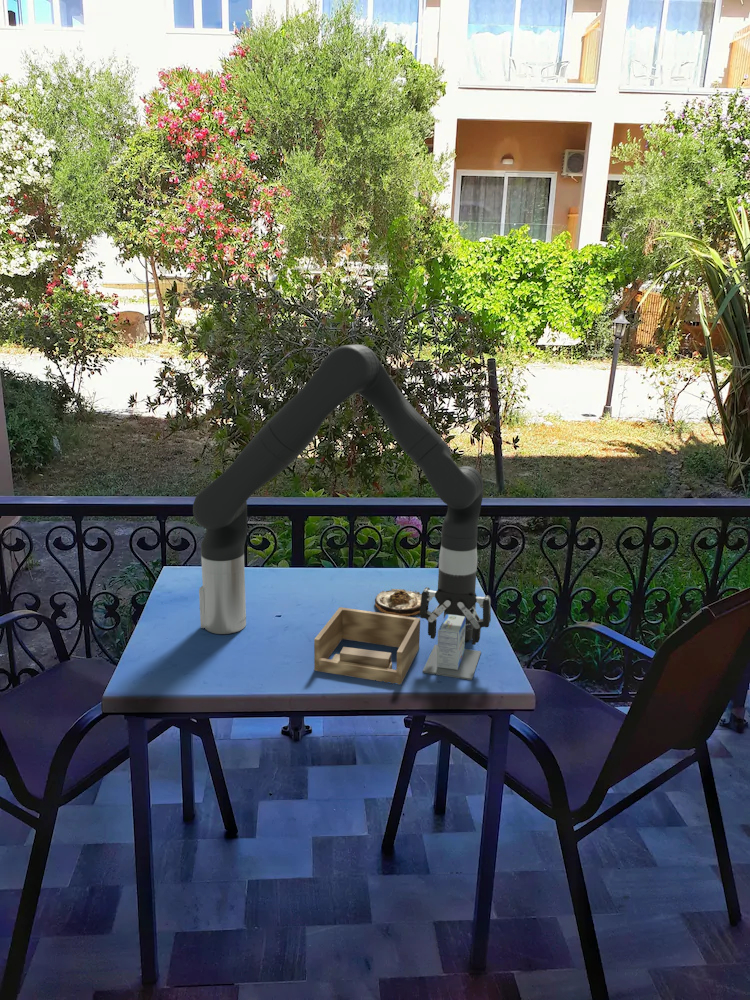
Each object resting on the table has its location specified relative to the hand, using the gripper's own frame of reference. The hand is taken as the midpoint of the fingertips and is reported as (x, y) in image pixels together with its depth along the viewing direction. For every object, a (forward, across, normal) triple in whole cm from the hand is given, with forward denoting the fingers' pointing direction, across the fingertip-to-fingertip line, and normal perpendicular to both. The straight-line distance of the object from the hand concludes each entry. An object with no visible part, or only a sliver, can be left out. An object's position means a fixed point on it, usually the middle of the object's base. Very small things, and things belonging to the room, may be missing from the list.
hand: (453, 640), depth 165 cm
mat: (+5, 0, 0) cm, 5 cm away
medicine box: (+5, 0, 0) cm, 5 cm away
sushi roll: (+6, -17, +24) cm, 30 cm away
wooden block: (+5, -17, -9) cm, 20 cm away
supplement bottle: (+5, -1, +12) cm, 13 cm away
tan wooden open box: (+5, -17, -4) cm, 18 cm away
